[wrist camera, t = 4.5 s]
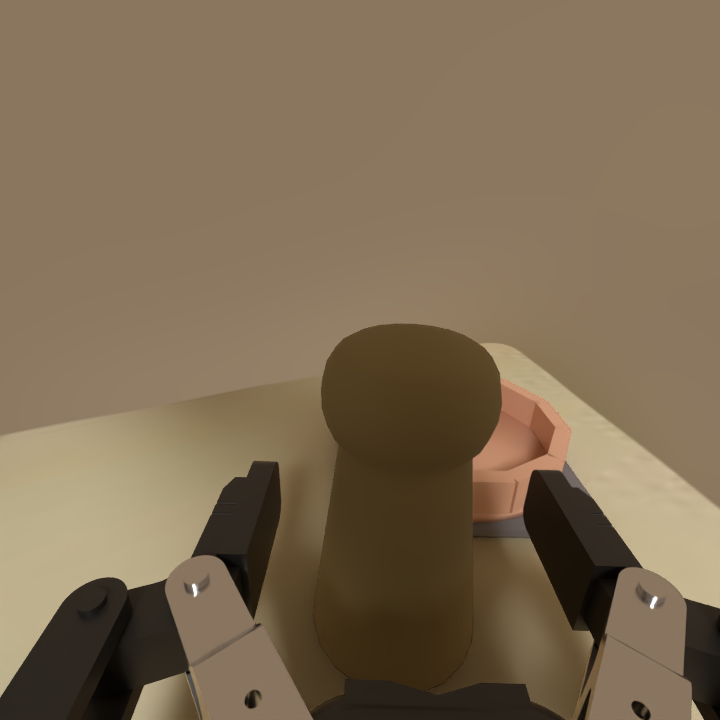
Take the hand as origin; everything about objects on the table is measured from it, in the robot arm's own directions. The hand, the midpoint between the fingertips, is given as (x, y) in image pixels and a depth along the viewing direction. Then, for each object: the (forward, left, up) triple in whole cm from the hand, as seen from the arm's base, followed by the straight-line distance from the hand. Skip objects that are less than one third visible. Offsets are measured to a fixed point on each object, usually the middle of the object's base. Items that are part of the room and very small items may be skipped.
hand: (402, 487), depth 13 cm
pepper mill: (0, 0, -6) cm, 6 cm away
